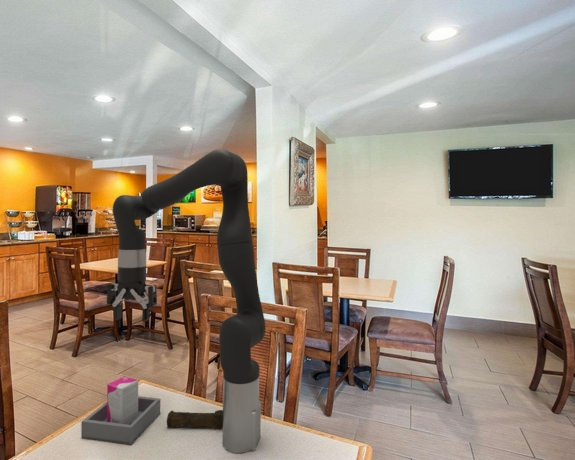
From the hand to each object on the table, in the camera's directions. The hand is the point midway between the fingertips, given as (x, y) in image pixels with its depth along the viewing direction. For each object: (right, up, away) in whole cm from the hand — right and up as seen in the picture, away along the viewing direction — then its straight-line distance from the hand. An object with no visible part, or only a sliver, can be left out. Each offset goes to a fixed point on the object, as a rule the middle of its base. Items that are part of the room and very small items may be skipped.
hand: (131, 319), depth 100 cm
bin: (0, -28, -6) cm, 28 cm away
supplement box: (0, -27, -6) cm, 28 cm away
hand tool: (+22, -28, -5) cm, 36 cm away
